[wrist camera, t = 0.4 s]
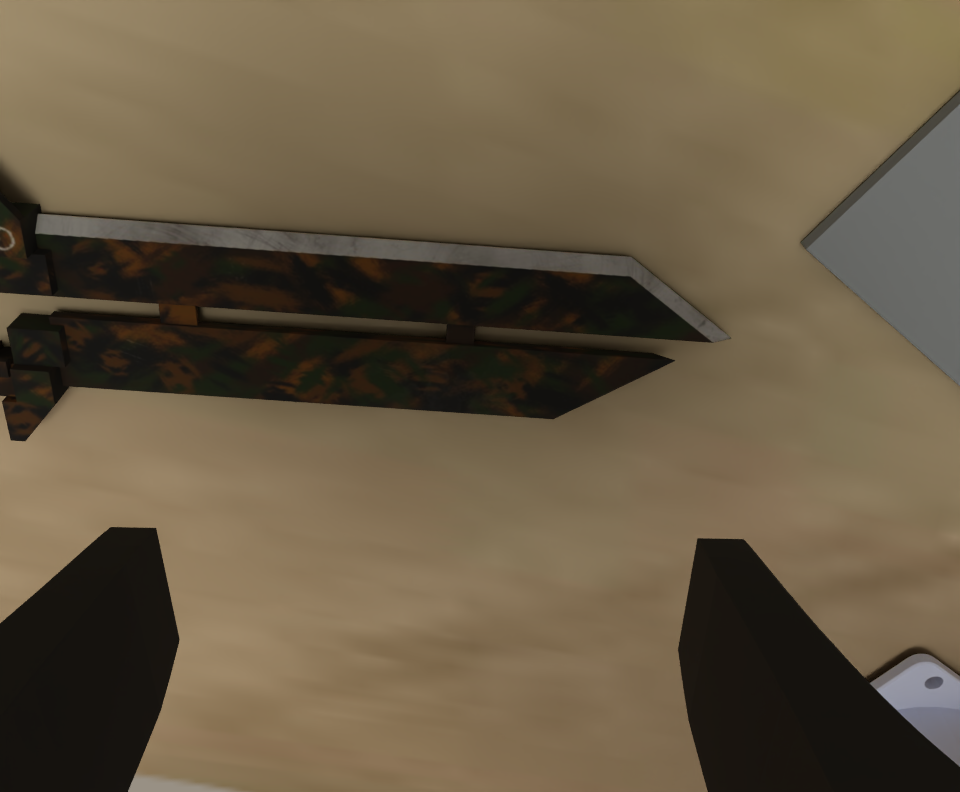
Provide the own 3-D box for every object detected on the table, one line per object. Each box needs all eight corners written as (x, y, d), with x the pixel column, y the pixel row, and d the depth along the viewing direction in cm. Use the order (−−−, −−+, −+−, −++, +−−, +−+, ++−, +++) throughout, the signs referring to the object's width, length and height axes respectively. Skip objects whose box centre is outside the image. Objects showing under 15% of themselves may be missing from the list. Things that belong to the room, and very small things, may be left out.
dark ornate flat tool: (739, 264, 21) (756, 290, 20) (662, 495, 24) (672, 530, 23) (-481, 68, 19) (-549, 84, 18) (-381, 351, 22) (-433, 381, 21)
